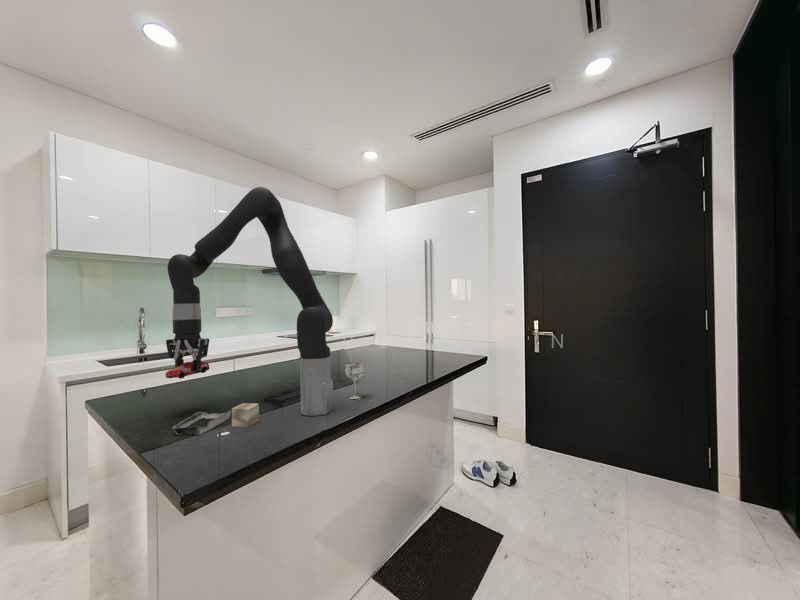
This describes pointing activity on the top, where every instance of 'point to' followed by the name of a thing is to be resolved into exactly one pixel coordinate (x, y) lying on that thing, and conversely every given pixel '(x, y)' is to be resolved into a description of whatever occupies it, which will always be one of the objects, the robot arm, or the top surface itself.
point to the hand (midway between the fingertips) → (188, 371)
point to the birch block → (245, 414)
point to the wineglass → (354, 374)
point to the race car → (186, 370)
